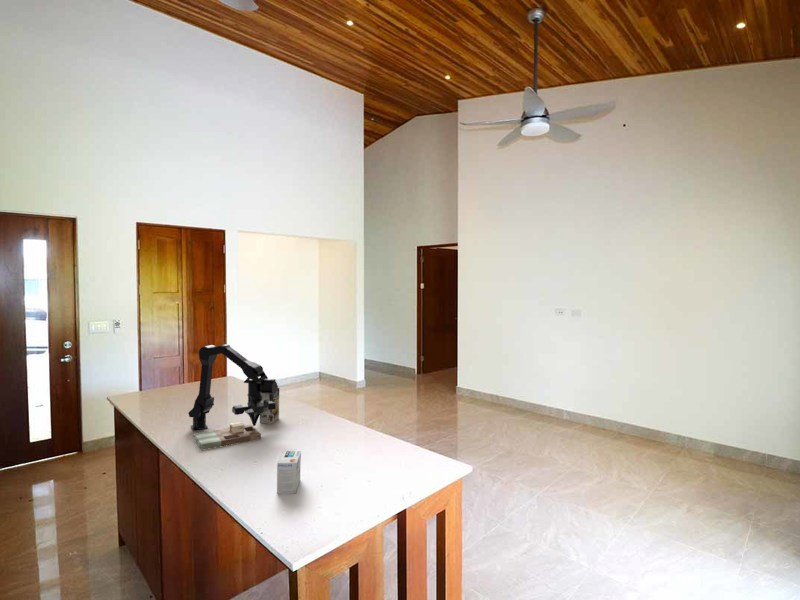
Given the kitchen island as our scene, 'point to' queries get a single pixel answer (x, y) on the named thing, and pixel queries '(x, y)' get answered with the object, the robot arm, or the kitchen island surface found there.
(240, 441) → the board
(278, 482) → the light bulb box
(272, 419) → the coffee box
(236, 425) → the block
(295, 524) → the kitchen island surface
